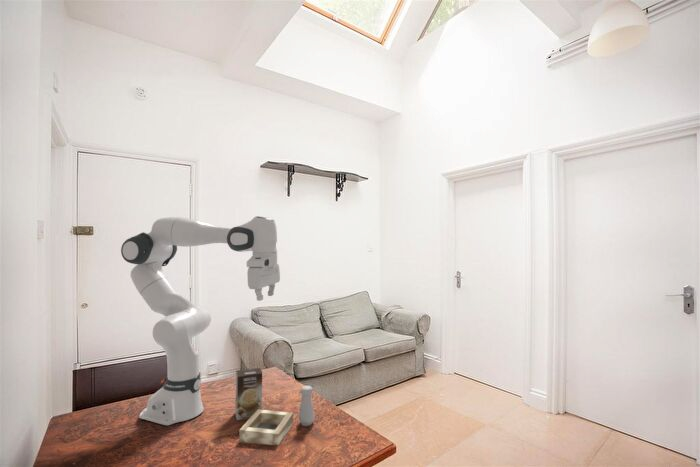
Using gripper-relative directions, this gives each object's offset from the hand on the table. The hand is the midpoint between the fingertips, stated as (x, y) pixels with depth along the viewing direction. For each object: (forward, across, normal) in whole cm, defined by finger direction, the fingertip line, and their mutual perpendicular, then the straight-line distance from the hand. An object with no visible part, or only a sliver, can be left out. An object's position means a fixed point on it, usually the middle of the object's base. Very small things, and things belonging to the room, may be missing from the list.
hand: (265, 297), depth 127 cm
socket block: (+44, +8, +4) cm, 45 cm away
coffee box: (+45, -2, -8) cm, 45 cm away
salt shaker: (+45, 0, +15) cm, 47 cm away
